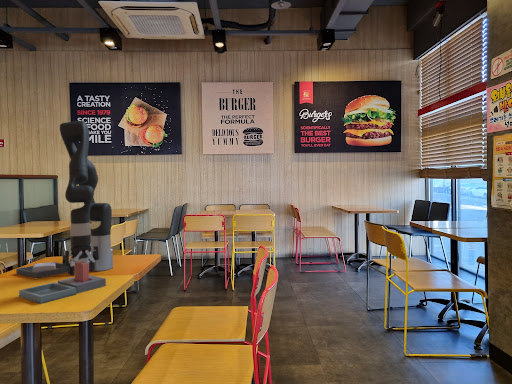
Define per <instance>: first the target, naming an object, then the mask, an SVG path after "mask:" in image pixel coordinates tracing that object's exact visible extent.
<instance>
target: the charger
mask: <svg viewBox="0 0 512 384" xmlns="http://www.w3.org/2000/svg"><path fill="white" fill-rule="evenodd" d="M54 262H55V261H51V262H42V263H40V262H39V263H35V264H33V265H32V266H33V269H32V272H36V273H38V272H44V271H49V270H54V269H57V268H56V263H54Z"/></svg>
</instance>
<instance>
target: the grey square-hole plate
mask: <svg viewBox="0 0 512 384" xmlns="http://www.w3.org/2000/svg"><path fill="white" fill-rule="evenodd" d="M106 279H107V278H104V277H100V276H95V275H91V274H89V281H86V282H79V281H75V276H72V277H69V278H65V279H61V280H57V283H59V284H63V285H67V286H71V287H75V288H76V294H80V293H85V292H87V291H91V290H94V289H95V290H96V289H100V288H103V287H106V286H107V284H106V283H107V282H106V281H107V280H106Z"/></svg>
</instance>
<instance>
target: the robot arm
mask: <svg viewBox="0 0 512 384" xmlns="http://www.w3.org/2000/svg"><path fill="white" fill-rule="evenodd" d="M59 132H60V136H61V139H62V141H63V144H64V146H65V148H66V151H67V153H68V156H69V159H70V160H69V164H68V175H69V178H68V180H69V181H68V184H67V186H66V190H65V193H64V197H65V200H66V201H67V202H68V203H71V204H74V203H75V204H76V203H77V204H78V203H81V204H82V203H83V206H81V207H78V208H73V209H72V210H71V211H70V229H69V231H70V233H69V234H70V235H69V236H70V247H71V248H70V249H69V250H63V251H62V265H65V266H67V267H68V272H67V274H68V275H69V276H70V277H74V276H75V271H74V267H73V266H75V263H76V261H77V260H78V259H82V258H87V259H88V260H89V272H91V273H92V272H94V271H95V272H103V271H107V270H111V269H113V268H114V254H113V253H114V252H113V251H114V250H113V248H112V239H111V237H112V236H111V233H112V232H111V231H112V214H113V212H112V211H113V210H112V206H111V204H110V203H108V202H96V201H95V198H94V195H95V191H96V188H97V186H98V183H99V176H98V172H97V169H96V166H95V165H94V164H93V163H94V162H92V161H91V160H89V159H88V154H89V147H90V145H89V144H90V130H89V127H88V125H87V123H86V122H85V121H84V120H76V121H75V120H73V121H69V122H68V121H66V122H61V123H60V124H59ZM75 143H79V145H78V148H77V146H76V145H75ZM91 222H100V225H99V226H98V227H95V228H92V229H91ZM90 245H91V246H90ZM90 252H91V254H90Z"/></svg>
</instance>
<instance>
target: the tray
mask: <svg viewBox="0 0 512 384" xmlns="http://www.w3.org/2000/svg"><path fill="white" fill-rule="evenodd" d="M18 293H19V294H18V296H19V298H22V299H24V300H28V301H31V302H33V303H37V304H40V305H42V304H45V303H48V302H52V301H56V300H61V299H65V298H69V297H72V296H76V295H77V293H76V288H75V287H71V286H67V285H63V284H59V283H58V282H54V281H53V282H50V283H45V284H41V285H36V286H32V287H28V288H23V289H19V291H18Z"/></svg>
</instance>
